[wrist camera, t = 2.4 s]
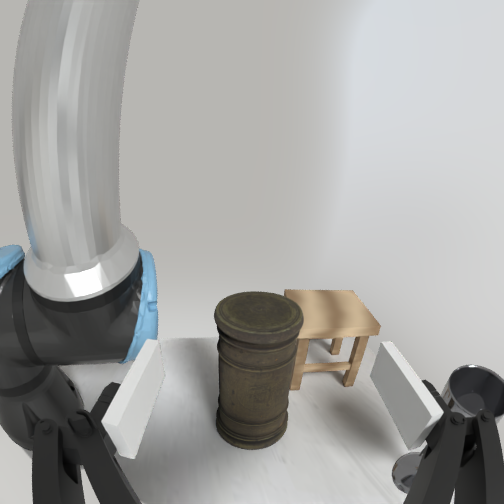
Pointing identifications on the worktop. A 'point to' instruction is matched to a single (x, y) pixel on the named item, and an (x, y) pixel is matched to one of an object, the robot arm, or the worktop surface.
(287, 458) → the worktop surface
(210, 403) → the worktop surface
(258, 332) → the container
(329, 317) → the stool
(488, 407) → the wine glass
